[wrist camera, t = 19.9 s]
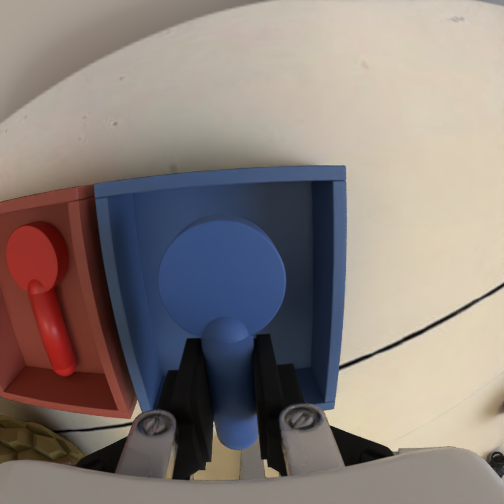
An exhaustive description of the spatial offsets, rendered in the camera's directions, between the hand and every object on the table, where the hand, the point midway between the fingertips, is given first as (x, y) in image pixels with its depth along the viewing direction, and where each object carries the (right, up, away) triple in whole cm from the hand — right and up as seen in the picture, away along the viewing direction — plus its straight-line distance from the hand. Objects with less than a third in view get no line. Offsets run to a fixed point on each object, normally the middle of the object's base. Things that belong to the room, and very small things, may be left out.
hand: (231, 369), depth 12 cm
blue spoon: (0, +1, 0) cm, 1 cm away
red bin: (-11, +2, +5) cm, 13 cm away
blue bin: (0, +3, +5) cm, 6 cm away
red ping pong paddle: (-11, +2, +4) cm, 12 cm away
